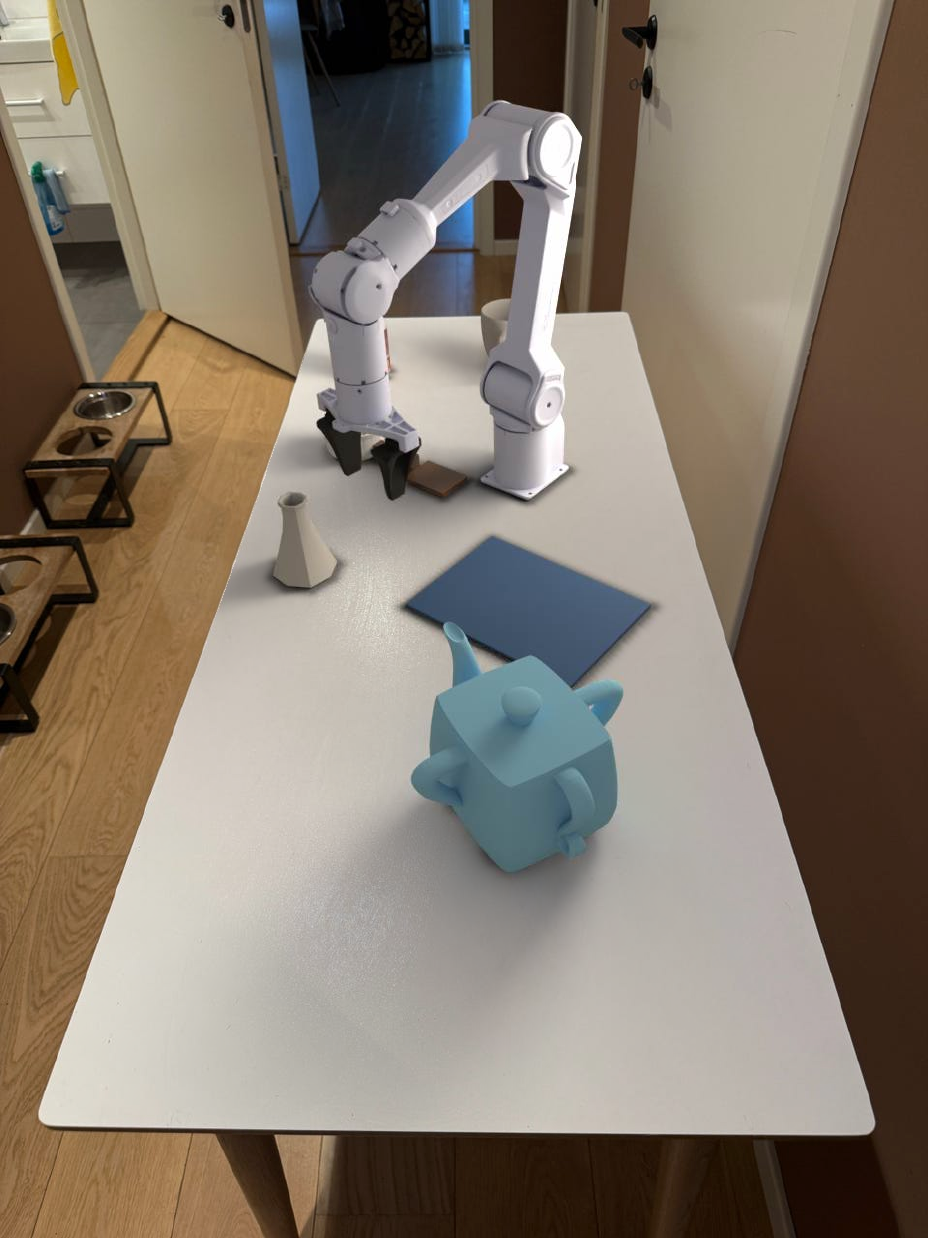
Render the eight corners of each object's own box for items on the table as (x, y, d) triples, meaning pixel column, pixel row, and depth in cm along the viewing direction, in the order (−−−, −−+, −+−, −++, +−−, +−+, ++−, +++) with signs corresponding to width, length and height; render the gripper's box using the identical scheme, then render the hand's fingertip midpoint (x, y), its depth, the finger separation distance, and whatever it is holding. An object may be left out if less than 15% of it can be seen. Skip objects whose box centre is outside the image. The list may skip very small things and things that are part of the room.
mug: (487, 354, 151) (485, 296, 145) (540, 357, 150) (541, 299, 144) (474, 388, 143) (472, 328, 136) (530, 391, 141) (531, 331, 135)
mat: (492, 538, 113) (492, 535, 112) (650, 606, 102) (651, 604, 102) (405, 606, 103) (405, 603, 103) (569, 689, 93) (570, 686, 92)
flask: (262, 579, 108) (246, 508, 102) (298, 546, 113) (285, 475, 106) (313, 596, 105) (300, 523, 99) (348, 561, 110) (337, 490, 104)
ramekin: (390, 431, 133) (387, 404, 130) (385, 464, 126) (382, 436, 123) (329, 433, 133) (325, 405, 131) (320, 465, 127) (316, 437, 124)
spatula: (349, 458, 128) (347, 443, 127) (374, 442, 131) (373, 427, 130) (443, 498, 120) (442, 482, 118) (468, 480, 123) (467, 464, 121)
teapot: (635, 763, 85) (649, 655, 76) (587, 911, 74) (597, 805, 65) (452, 715, 91) (445, 610, 82) (381, 846, 79) (364, 740, 70)
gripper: (287, 366, 98) (307, 475, 107) (377, 409, 90) (390, 523, 99) (339, 343, 102) (353, 451, 111) (429, 383, 94) (437, 495, 103)
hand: (374, 483), depth 105 cm, fingers open, 7 cm apart
